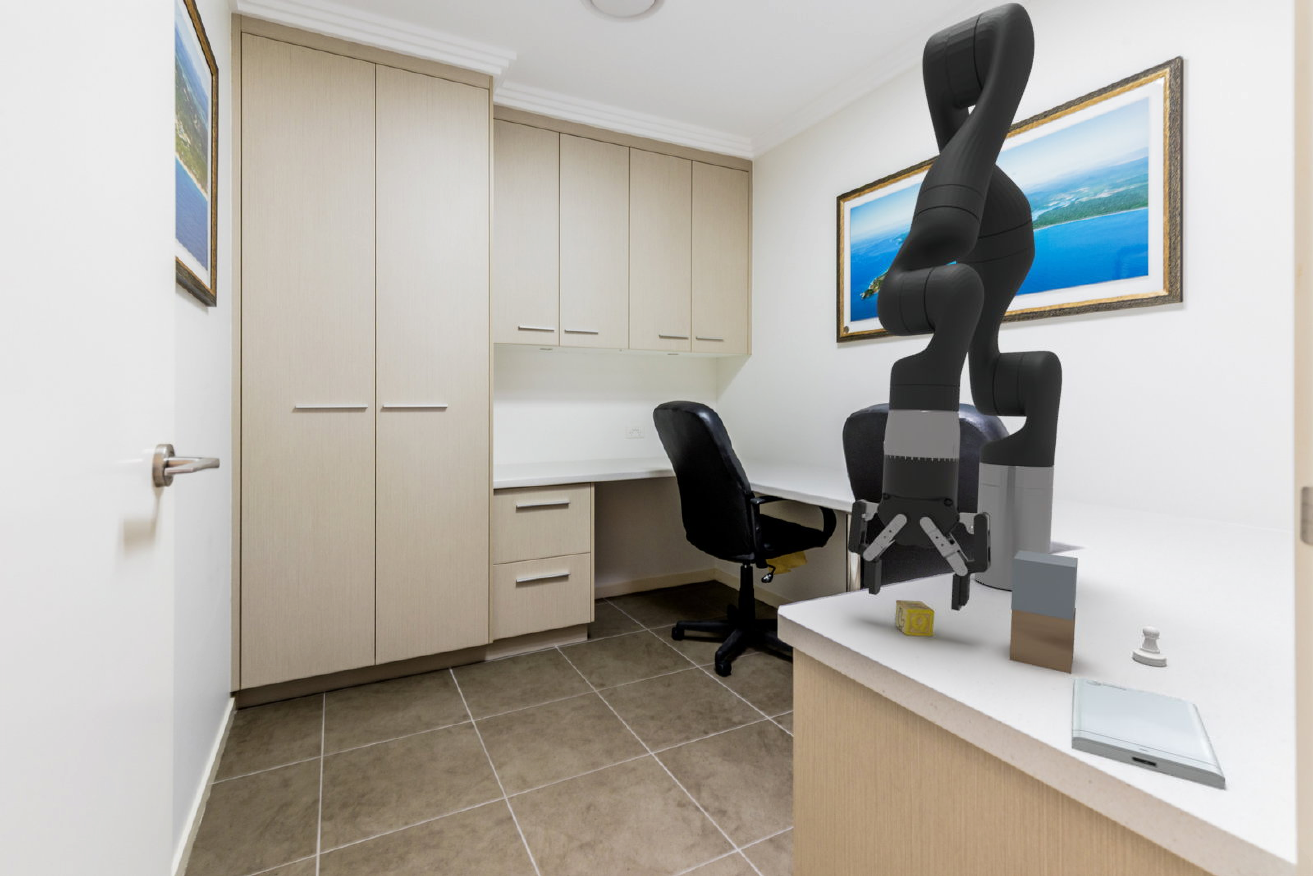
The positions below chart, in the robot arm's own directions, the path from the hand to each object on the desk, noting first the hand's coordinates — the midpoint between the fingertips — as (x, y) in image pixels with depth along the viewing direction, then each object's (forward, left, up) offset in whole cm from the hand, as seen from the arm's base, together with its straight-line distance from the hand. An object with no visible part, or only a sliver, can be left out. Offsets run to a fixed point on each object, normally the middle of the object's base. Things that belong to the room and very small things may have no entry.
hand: (913, 600), depth 67 cm
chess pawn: (-7, +21, -4) cm, 22 cm away
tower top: (0, +12, +1) cm, 12 cm away
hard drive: (+11, +19, -4) cm, 23 cm away
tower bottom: (0, +12, -4) cm, 12 cm away
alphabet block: (0, 0, -4) cm, 4 cm away
